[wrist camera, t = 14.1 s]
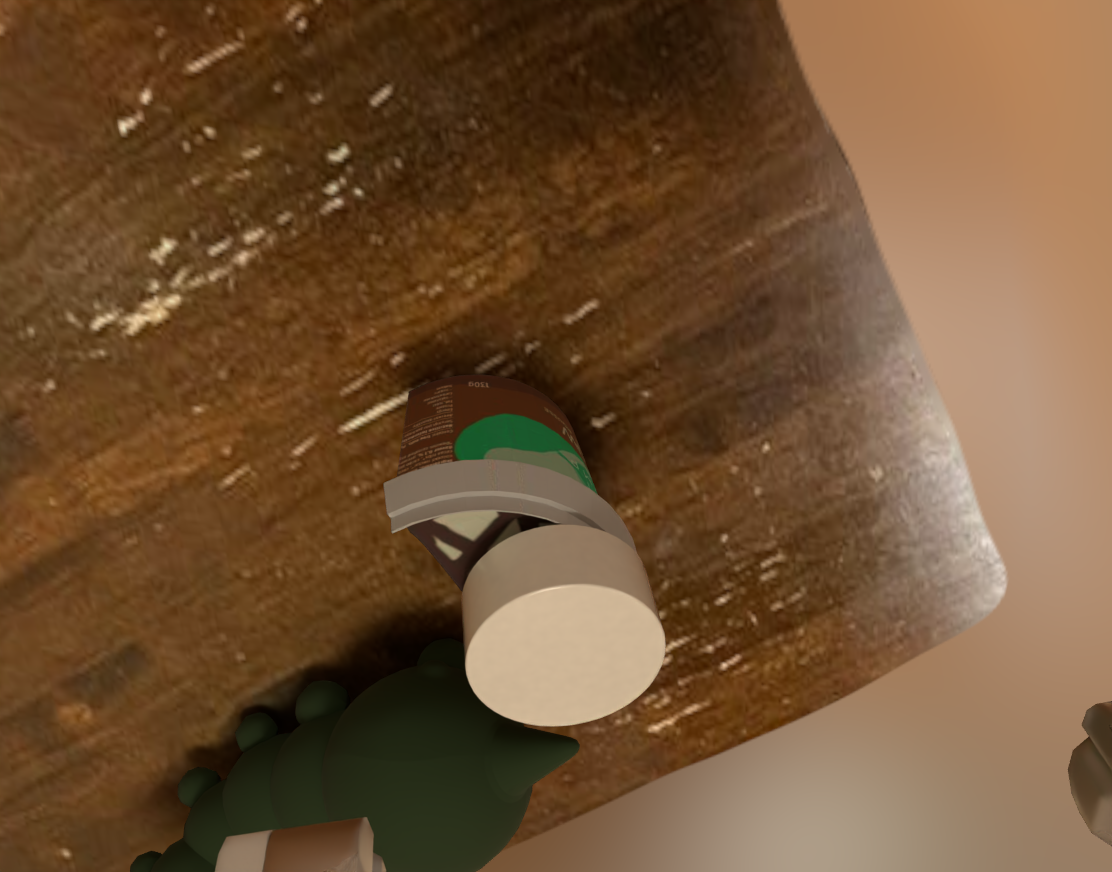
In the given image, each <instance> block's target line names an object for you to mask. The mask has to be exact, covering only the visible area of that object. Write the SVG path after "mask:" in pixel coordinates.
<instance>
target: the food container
mask: <svg viewBox="0 0 1112 872" xmlns="http://www.w3.org/2000/svg"><path fill="white" fill-rule="evenodd" d="M384 492H385V500H386V508H387V515H388V516H389V517H390V518H391V532H392V533H394V532H397V531H399V530H402V529H404V528H406V527H407V528H408V530H409V531H410V533H412V534H413V535H414V536H415V537H417V538H418V539H419V540H420V541H421V542H422V544H423V545H424V546H425V547H426V548H427V549H428V550H429V551H430V553H431V554H432V555H433V556H434V557H435V559H436V560H437V561H438V562H439V563H440V564H441V566H442V567H443V568H444V569H445V571H446V572H447V573H448V574H449V576H450V577H451V578H452V579H453V581H454V582H455V583H456V584H457V586H458V587H459V588H460V590H461V591H462V592H463V588H464V584H465V582H466V580H467V578H468V575H469V574H470V572H471V570H472V569H473V567H474V566H475V565H476V563H477V562H478V561H479V560H480V559H481V557H483V556H484V555H485V554H486V553H487V552H488V551H489V550H490V549H492V548H493V547H494V546H496V545H497V544H499V543H500V542H502V541H504V540H506V539H507V538H509V537H511V536H513V535H516V534H518V533H521V532H523V531H527V530H530V529H533V528H537V527H542V526H548V525H558V524H573V525H582V526H588V527H592V528H597V529H600V530H602V531H605V532H608V533H610V534H612V535H614V536H616V537H618V538H619V539H621V540H622V541H624V542H625V543H626V544H628V545H629V546H630V547H631V548H632V549H633V550H634V551H635V552H636V548H635V545H634V542H633V538H632V537H631V535H630V533H629V531H628V529H627V527H626V526H625V524H624V522H623V520H622V519H621V518H620V517H619V515H618V514H617V513H616V512H615V511H614V510H613V508H612V507H611V506H610V505H609V504H608V503H607V502H606V501H605V500H603V499H602V498H601V497H600V496H599V495H598V494H597V492H596V489H595V486H594V484H593V481H592V478H591V476H590V473H589V470H588V468H587V465H586V462H585V460H584V457H583V454H582V452H581V449H580V447H579V444H578V441H577V439H576V436H575V433H574V431H573V428H572V426H571V424H570V423H569V421H568V419H567V417H566V415H565V414H564V413H563V412H562V411H561V409H560V408H559V407H558V406H557V405H556V404H555V403H554V402H553V401H552V400H551V399H549V398H548V397H547V396H546V395H545V394H543V393H541V392H540V391H538V390H536V389H535V388H533V387H531V386H529V385H526V384H524V383H521V382H519V381H516V380H513V379H508V378H504V377H500V376H492V375H482V374H478V375H460V376H454V377H448V378H443V379H440V380H436V381H433V382H430V383H427V384H425V385H422V386H420V387H418V388H416V389H414V390H412V391H410V392H409V394H408V402H407V409H406V416H405V423H404V431H403V438H402V445H401V452H400V460H399V467H398V474H397V478H394V479H392V480H390V481H388V482H385V483H384ZM636 554H637V552H636Z"/></svg>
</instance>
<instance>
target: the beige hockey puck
mask: <svg viewBox="0 0 1112 872" xmlns="http://www.w3.org/2000/svg"><path fill="white" fill-rule="evenodd" d="M461 605H462V622H463V639H464V657H465V669H466V675H467V679H468V682H469V684H470V686H471V688H472V690H473V691H474V693H475V694H476V695H477V697H478V698H479V699H480V700H481V701H482V702H483V703H484V704H485V705H486V706H487V707H489V708H490V709H492V710H493V711H494V712H496V713H498V714H500V715H502V716H504V717H506V718H509V719H511V720H514V721H517V722H521V723H525V724H531V725H537V726H567V725H575V724H580V723H585V722H589V721H592V720H596V719H599V718H602V717H604V716H607V715H609V714H611V713H613V712H615V711H617V710H619V709H621V708H623V707H624V706H626V705H628V704H629V703H631V702H632V701H633V700H635V699H636V698H637V697H639V696H640V695H641V694H642V693H643V692H644V691H645V690H646V689H647V688H648V687H649V685H650V684H651V683H652V682H653V680H654V679H655V677H656V676H657V674H658V672H659V670H660V668H661V666H662V663H663V659H664V655H665V648H666V641H665V634H664V630H663V627H662V623H661V620H660V616H659V613H658V610H657V606H656V603H655V599H654V596H653V592H652V589H651V586H650V582H649V579H648V575H647V572H646V569H645V566H644V564H643V563H642V561H641V559H640V557H639V556H638V555H637V554H636V552H635V551H634V550H633V549H632V548H631V547H630V546H629V545H628V544H626V543H625V542H624V541H622V540H621V539H619V538H618V537H616V536H614V535H612V534H610V533H608V532H605V531H602V530H600V529H597V528H592V527H588V526H582V525H573V524H558V525H548V526H542V527H537V528H533V529H530V530H527V531H523V532H521V533H518V534H516V535H513V536H511V537H509V538H507V539H506V540H504V541H502V542H500V543H499V544H497V545H496V546H494V547H493V548H492V549H490V550H489V551H488V552H487V553H486V554H485V555H484V556H483V557H481V559H480V560H479V561H478V562H477V563H476V565H475V566H474V567H473V569H472V570H471V572H470V574H469V575H468V578H467V580H466V582H465V584H464V588H463V592H462V602H461Z"/></svg>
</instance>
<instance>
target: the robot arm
mask: <svg viewBox="0 0 1112 872" xmlns="http://www.w3.org/2000/svg"><path fill="white" fill-rule="evenodd" d="M1082 726H1083V728H1084V729H1085V731H1086V732H1087V734H1088V735H1089V737H1088V738H1087V739H1086V740H1084V741H1083V742H1082V743H1081V744H1080V745H1079V746H1077V747H1076V748H1075V749H1074V750H1073V752H1072V756H1071V760H1070V764H1069V767H1068V773H1069V780H1070V786H1071V793H1072V795H1073V798H1074V800H1075V803H1076V805H1077V808H1078V810H1079V813H1080V814H1081V816H1082V818H1083V819H1084V821H1085V823H1086V824H1087V826H1088V828H1089V829H1090V831H1091V833H1092V834H1094V835H1095V836H1097V837H1098V838H1100V839H1101V840H1103V841H1104V842H1106V843H1107V844H1109V845H1111V846H1112V701H1111V702H1105V703H1099V704H1095V705H1094V706H1092V707H1091V708H1089V709H1088V710H1087V711H1086V714H1085V717H1084V720H1083V722H1082ZM373 837H374V834H373V831H372V829H371V826H370V824H369V821H368V819H367V817H363V818H356V819H349V820H342V821H335V822H328V823H321V824H314V825H307V826H300V827H293V828H286V829H279V830H268V831H261V832H255V833H249V834H242V835H236V836H230V837H226V839H225V841H224V843H223V845H222V848H221V850H220V852H219V854H218V858H217V863H216V869H215V872H386V868H385V865H384V862H383V859H382V857H380V856H379V855H377V854H375V853H373Z"/></svg>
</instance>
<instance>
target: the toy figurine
mask: <svg viewBox="0 0 1112 872" xmlns="http://www.w3.org/2000/svg"><path fill="white" fill-rule="evenodd" d="M295 713H296V717H297V721H298V723H299V724H301V725H300V726H299V727H298V728H296V729H295V730H294V731H293V733H286V734H279V735H278V727H277V725H276V724H275V722H274V721H273V720H272V719H271V718H270V717H269V716H268V715H267V714H266V713H260V712H258V713H255V714H251V715H248V716H246V717H245V719H244V720H243V722H242V723H241V725H240V726H239V728H238V729H237V731H236V732H235V734H236V738H237V742H238V745H239V747H240V749H241V751H243V752H245V753H243V754H242V755H241V757H240V758H239V759H238V761H237V762H236V764H235V765H234V767H233V768H232V770H231V771H230V773H229V774H228V776H227V779H225V780H223V781H221V778H220V776H219V775H218V773H217V772H216V771H213V770H210V769H208V768H204V767H197V768H194V769H191V770H188V771H187V773H186V774H185V775H184V776H183V778H182V779H181V781H180V782H179V784H178V797H179V799H180V802H182V803H183V804H185V805H187V806H189V807H190V808H191V811H190V813H189V816H188V818H187V821H186V823H185V828H184V836H183V838H182V839H180V840H179V841H177V842H175V843H174V844H172V845H170V846H169V847H168V849H167V850H166V851H165V852H164V853H163V854H161V853H158V852H154V851H150V852H147V853H144V854H142V855H139V856H138V857H137V858H136V859H135V861H134V862H133V863H132V865H131V867H130V872H215V869H216V863H217V858H218V854H219V852H220V850H221V848H222V845H223V843H224V841H225V839H226V837H230V836H236V835H242V834H249V833H255V832H261V831H268V830H279V829H286V828H293V827H300V826H307V825H314V824H321V823H328V822H335V821H342V820H349V819H356V818H363V817H367V819H368V821H369V824H370V826H371V829H372V831H373V834H374V837H373V853H375V854H377V855H379V856H380V857H382V859H383V862H384V865H385V868H386V872H476V871H478V870H479V869H481V868H482V867H483V866H485V864H487V863H488V862H489V861H490V860H492V859H493V858H494V857H495V856H496V855H497V854H499V853H500V851H501V850H502V849H503V848H504V847H505V846H506V845H507V843H508V842H509V841H510V839H511V838H512V837H513V835H514V834H515V832H516V831H517V829H518V827H519V826H520V824H521V821H522V819H523V817H524V814H525V812H526V809H527V807H528V804H529V800H530V796H531V793H532V786H533V784H534V783H536V782H537V781H539V780H540V779H542V778H543V777H545V776H546V775H548V774H549V773H550V772H552V771H553V770H555V769H556V768H558V767H559V766H561V765H562V764H564V763H565V762H566V761H568V760H569V759H570V758H572V757H573V756H574V755H575V754H576V753H577V752H578V750H579V747H580V745H579V743H578V741H577V740H576V739H573V738H571V737H567V736H563V735H559V734H554V733H550V732H545V731H541V730H536V729H532V728H527V727H524V725H523V723H521V722H517V721H514V720H511V719H509V718H506V717H504V716H502V715H500V714H498V713H496V712H494V711H493V710H492V709H490V708H489V707H487V706H486V705H485V704H484V703H483V702H482V701H481V700H480V699H479V698H478V697H477V695H476V694H475V693H474V691H473V690H472V688H471V686H470V684H469V682H468V679H467V675H466V669H465V657H464V644H463V643H461V642H458V641H456V640H454V639H451V638H447V639H440V640H436V641H433V642H432V643H431V644H429V645H428V646H427V647H426V648H425V649H424V651H423V652H422V653H421V655H420V657H419V659H418V662H417V666H414V667H410V668H407V669H404V670H401V671H398V672H396V673H393V674H391V675H389V676H387V677H385V678H383V679H381V680H379V681H377V682H376V683H374V684H373V685H371V686H370V687H369V688H367V689H366V690H365V691H363V692H362V693H361V694H360V695H359V696H358V697H357V698H355V700H354V701H353V702H352V703H351V704H350V698H349V695H348V693H347V690H346V689H344V688H343V687H341V686H340V685H339V684H337V683H336V682H331V681H325V680H324V681H313V682H312V683H311V684H310V685H309V686H308V687H306V688H305V689H304V691H303V692H302V693H301V694H300V695H299V696H298V698H297V701H296V711H295Z"/></svg>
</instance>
